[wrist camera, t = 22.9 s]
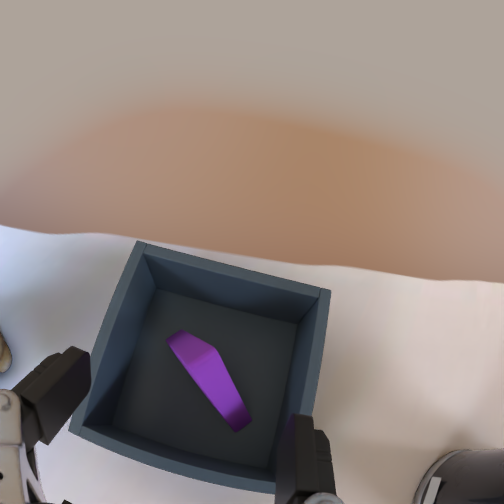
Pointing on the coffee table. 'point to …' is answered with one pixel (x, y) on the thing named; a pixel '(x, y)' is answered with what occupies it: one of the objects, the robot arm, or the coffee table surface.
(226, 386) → the arrowhead
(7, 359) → the figurine
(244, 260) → the coffee table surface
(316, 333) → the bin
